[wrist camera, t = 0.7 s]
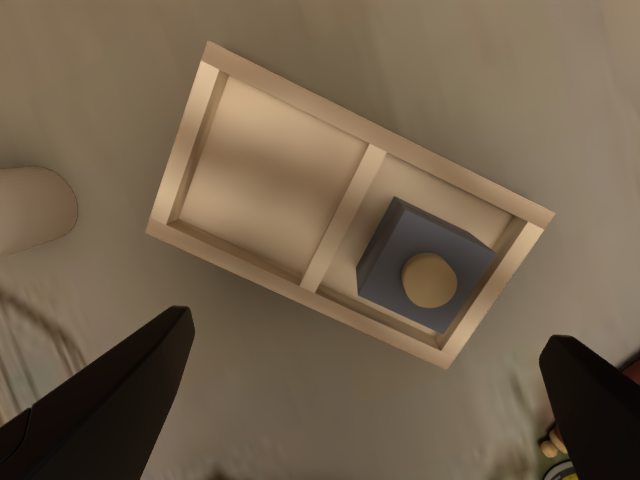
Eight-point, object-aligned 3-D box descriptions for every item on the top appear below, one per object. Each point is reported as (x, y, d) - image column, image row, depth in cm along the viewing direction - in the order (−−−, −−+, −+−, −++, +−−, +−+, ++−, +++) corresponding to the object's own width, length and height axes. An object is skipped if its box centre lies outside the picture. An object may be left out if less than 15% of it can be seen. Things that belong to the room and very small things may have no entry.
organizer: (436, 346, 24) (465, 413, 18) (166, 222, 23) (104, 251, 17) (531, 204, 21) (602, 230, 15) (224, 52, 20) (174, 17, 14)
